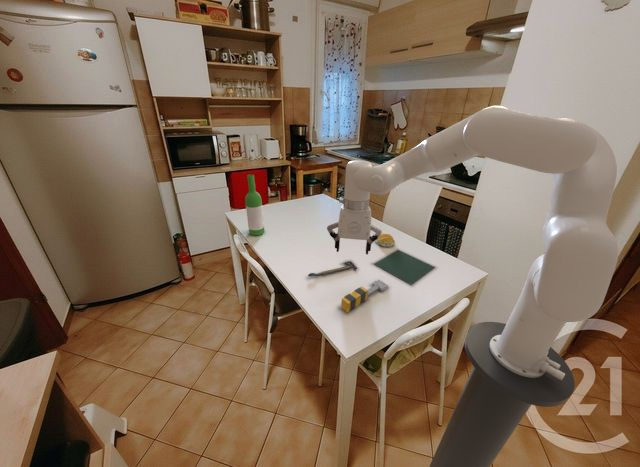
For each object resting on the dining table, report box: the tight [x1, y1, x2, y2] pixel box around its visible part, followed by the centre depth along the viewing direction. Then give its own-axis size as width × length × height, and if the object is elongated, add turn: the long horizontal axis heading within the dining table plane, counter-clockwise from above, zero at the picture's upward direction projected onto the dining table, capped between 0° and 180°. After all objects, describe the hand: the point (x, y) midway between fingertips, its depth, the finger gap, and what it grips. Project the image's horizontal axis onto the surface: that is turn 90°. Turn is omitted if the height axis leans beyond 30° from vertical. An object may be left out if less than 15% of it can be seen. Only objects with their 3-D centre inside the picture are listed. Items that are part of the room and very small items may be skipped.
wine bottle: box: [244, 174, 265, 236], centre depth 128 cm, size 8×8×30 cm
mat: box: [373, 249, 435, 286], centre depth 111 cm, size 18×18×1 cm
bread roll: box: [376, 233, 396, 248], centre depth 127 cm, size 8×9×4 cm
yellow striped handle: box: [340, 279, 389, 314], centre depth 92 cm, size 4×21×4 cm, turn 131°
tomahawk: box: [307, 260, 358, 277], centre depth 107 cm, size 21×7×1 cm, turn 110°
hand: (352, 251), depth 87 cm, fingers open, 9 cm apart
